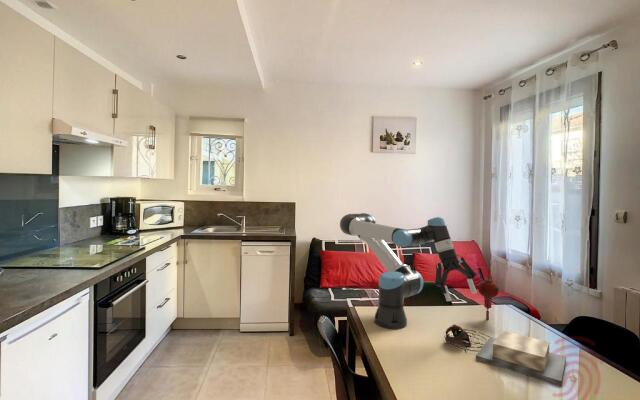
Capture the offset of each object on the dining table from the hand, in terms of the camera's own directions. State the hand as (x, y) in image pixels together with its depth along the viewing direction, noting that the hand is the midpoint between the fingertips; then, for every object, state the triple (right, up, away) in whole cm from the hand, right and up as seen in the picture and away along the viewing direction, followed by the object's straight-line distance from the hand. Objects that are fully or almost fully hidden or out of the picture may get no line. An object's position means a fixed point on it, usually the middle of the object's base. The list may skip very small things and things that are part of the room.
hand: (462, 297), depth 148 cm
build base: (+13, -17, -22) cm, 31 cm away
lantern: (+21, -17, +19) cm, 33 cm away
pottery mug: (-5, -17, -8) cm, 19 cm away
